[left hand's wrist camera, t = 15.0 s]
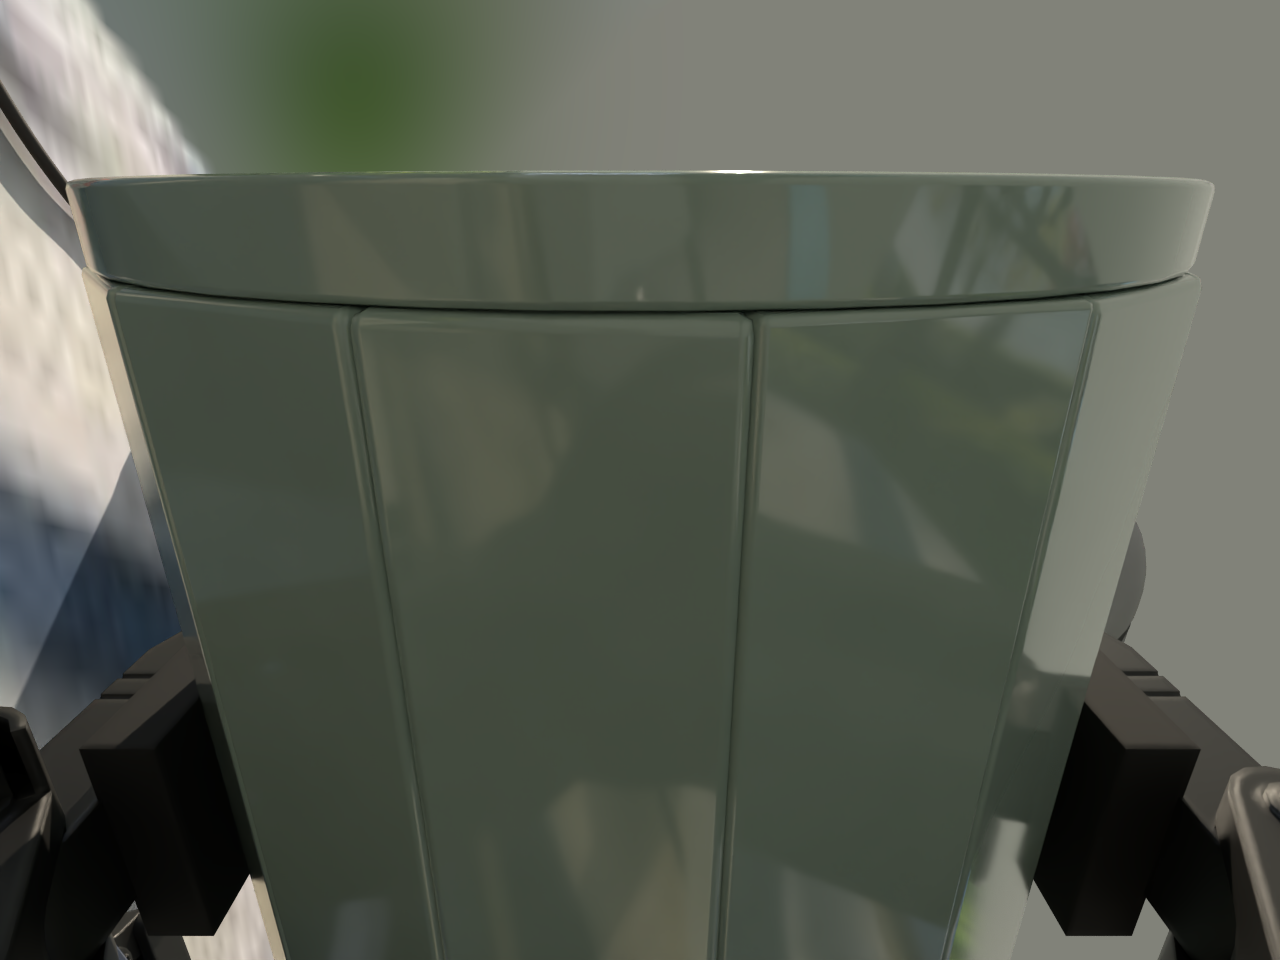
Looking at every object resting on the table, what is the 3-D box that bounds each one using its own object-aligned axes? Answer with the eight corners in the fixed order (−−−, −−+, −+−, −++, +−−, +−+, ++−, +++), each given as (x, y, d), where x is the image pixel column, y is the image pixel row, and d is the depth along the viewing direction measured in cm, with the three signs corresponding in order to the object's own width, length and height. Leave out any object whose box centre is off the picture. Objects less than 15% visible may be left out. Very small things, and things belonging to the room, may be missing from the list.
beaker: (1596, 180, 4) (1125, 1201, 9) (811, 191, 13) (768, 707, 17) (-601, 153, 2) (275, 1639, 6) (225, 189, 10) (347, 800, 15)
